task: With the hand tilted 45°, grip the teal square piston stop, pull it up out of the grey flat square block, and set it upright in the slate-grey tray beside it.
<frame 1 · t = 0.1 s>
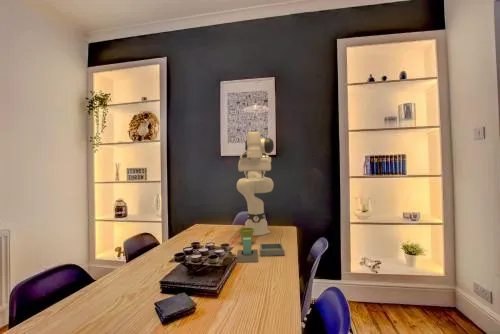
hand: (254, 178, 156), 39 cm above the table, tool pointing down, fingers open, 8 cm apart
grey flat square block: (247, 258, 126), on the table
plant pot: (247, 244, 153), on the table
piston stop: (247, 248, 127), in the grey flat square block
parts tray: (271, 252, 135), on the table
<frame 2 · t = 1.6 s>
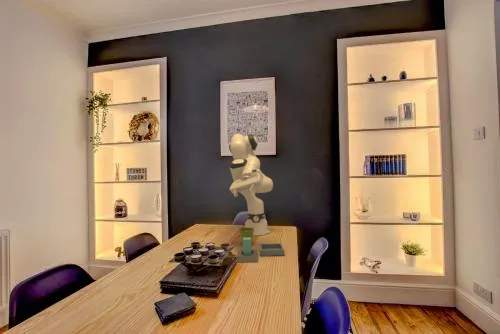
hand: (242, 194, 137), 31 cm above the table, tool tilted 50°, fingers open, 8 cm apart
nothing on the table moved.
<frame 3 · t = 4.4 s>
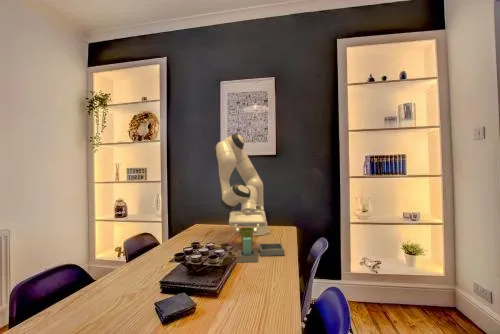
hand: (246, 232, 133), 12 cm above the table, tool tilted 45°, fingers open, 8 cm apart
nothing on the table moved.
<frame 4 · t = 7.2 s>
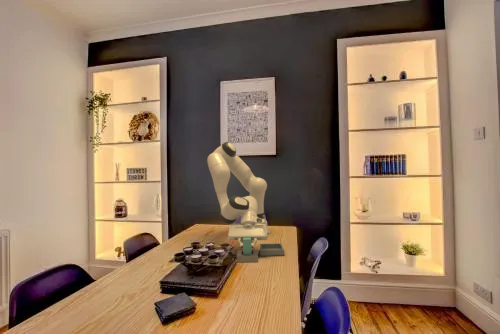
hand: (247, 247, 126), 6 cm above the table, tool tilted 45°, fingers closed on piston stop, 4 cm apart
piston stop: (247, 248, 127), in the grey flat square block, touching gripper
everything else where it was.
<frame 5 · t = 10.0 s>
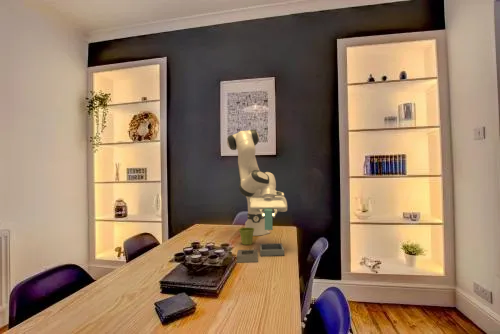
hand: (268, 217, 134), 19 cm above the table, tool tilted 45°, fingers closed on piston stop, 4 cm apart
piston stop: (268, 219, 134), point 18 cm above the table, touching gripper
everything else where it was.
when the fingers open (8 cm above the table, at t = 13.2 s): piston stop drops 1 cm, resting on parts tray.
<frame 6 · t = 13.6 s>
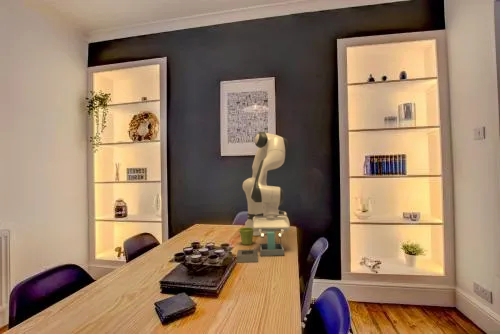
hand: (271, 237, 135), 8 cm above the table, tool tilted 45°, fingers open, 8 cm apart
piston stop: (271, 241, 135), in the parts tray, point 6 cm above the table
everything else where it was.
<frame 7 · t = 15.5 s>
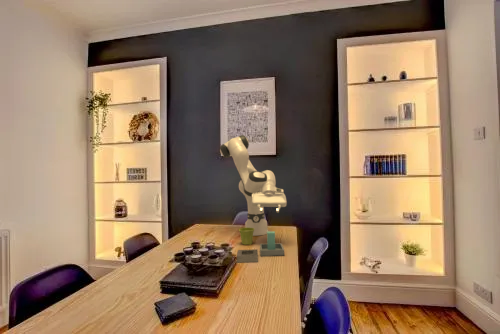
hand: (269, 211, 145), 20 cm above the table, tool tilted 45°, fingers open, 8 cm apart
nothing on the table moved.
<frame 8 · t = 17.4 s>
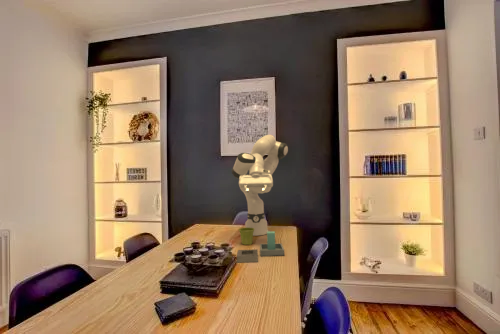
hand: (255, 191, 146), 31 cm above the table, tool tilted 45°, fingers open, 8 cm apart
nothing on the table moved.
at the end: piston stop inside the target area on the parts tray (0.1 cm from its centre), point 5.6 cm above the parts tray's base; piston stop tilted 0°; the gripper is holding nothing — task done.
